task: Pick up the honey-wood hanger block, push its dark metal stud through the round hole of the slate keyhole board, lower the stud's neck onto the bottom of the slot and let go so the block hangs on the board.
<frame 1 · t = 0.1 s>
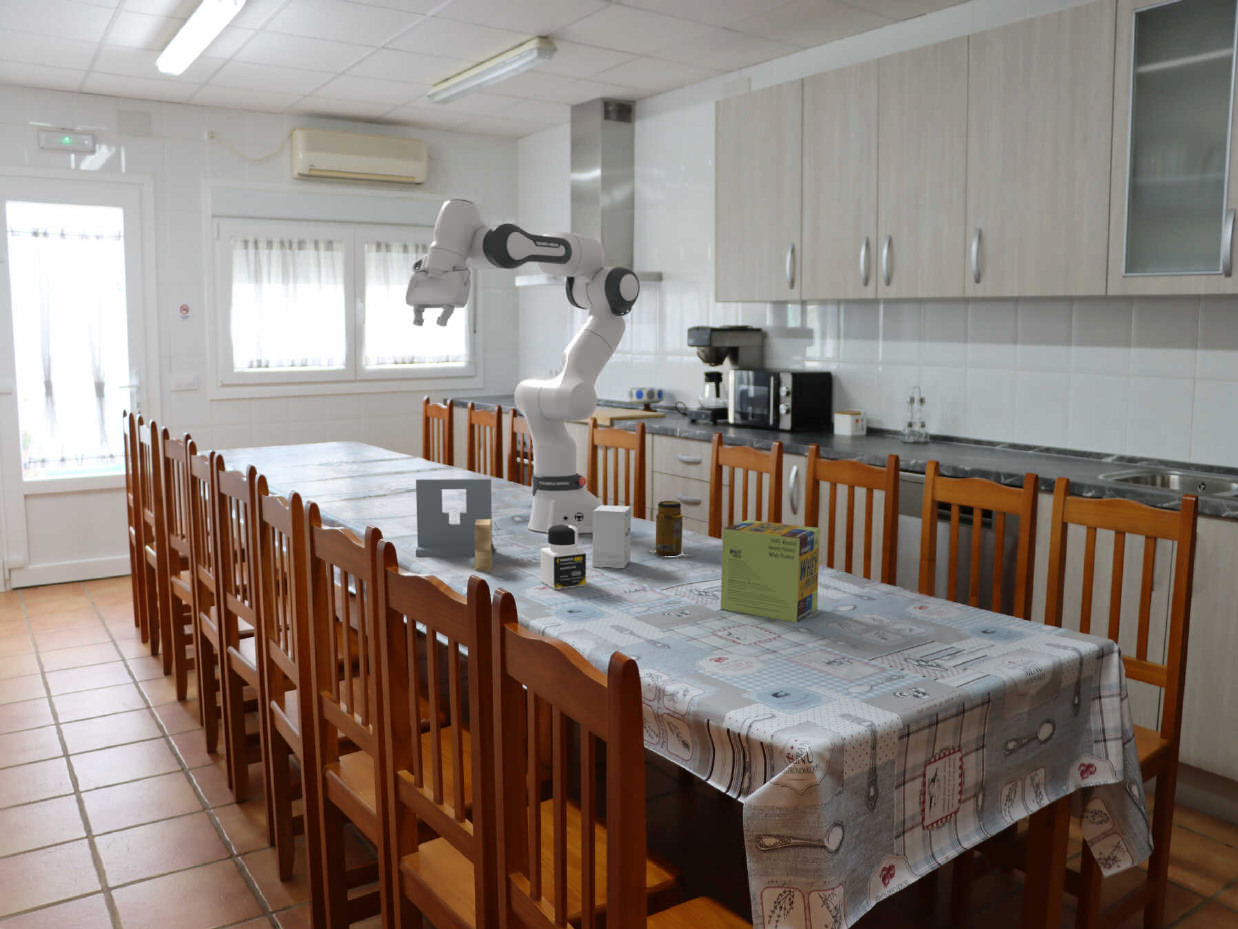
hand: (429, 325, 220), 52 cm above the table, tool tilted 20°, fingers open, 8 cm apart
hanger block: (483, 567, 212), on the table
supplement box: (611, 565, 215), on the table
medicine bottle: (563, 585, 198), on the table
condiment: (669, 555, 225), on the table
slate keyhole board: (455, 551, 226), on the table
protein box: (769, 610, 181), on the table
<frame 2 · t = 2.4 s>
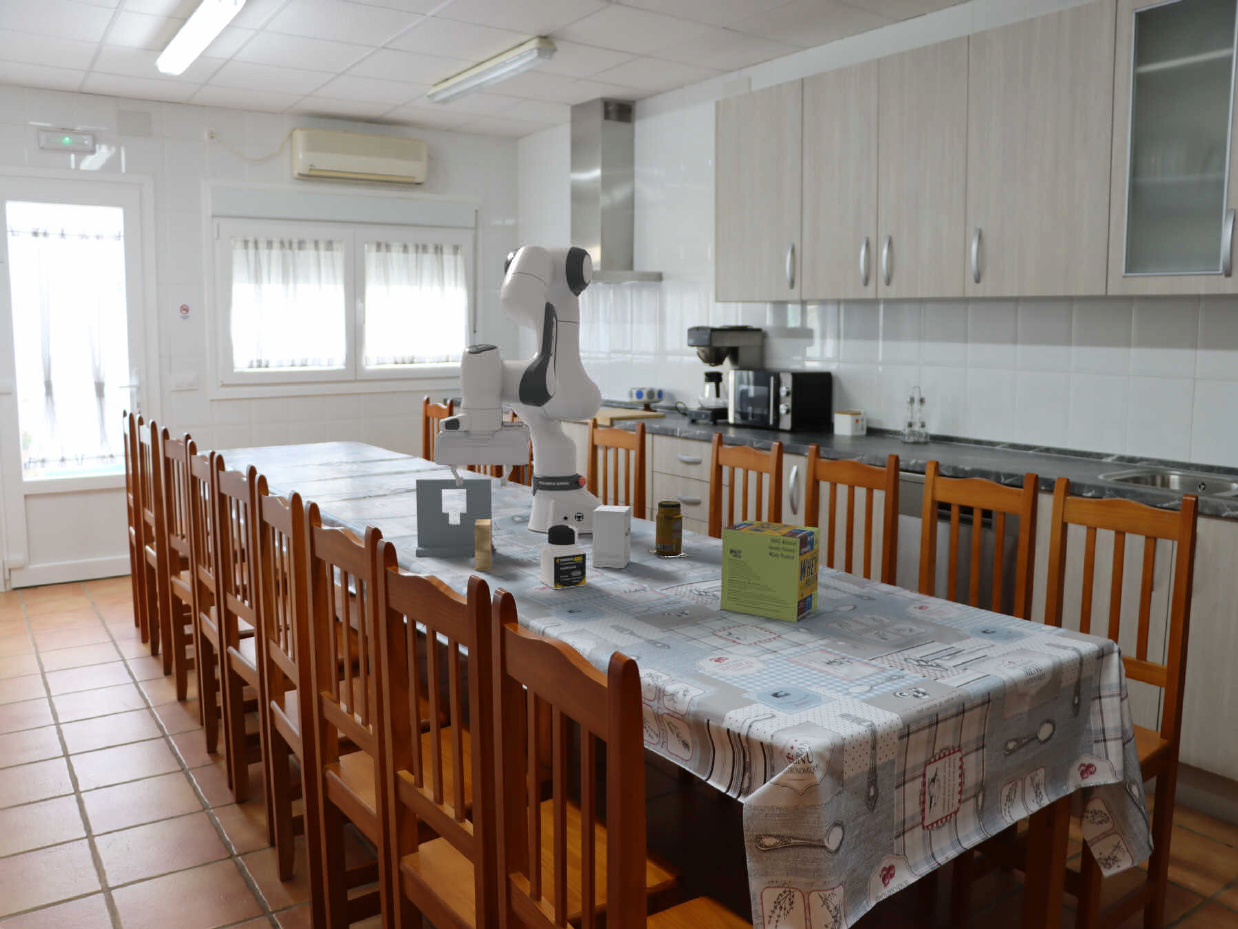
hand: (481, 485, 209), 18 cm above the table, tool pointing down, fingers open, 8 cm apart
nothing on the table moved.
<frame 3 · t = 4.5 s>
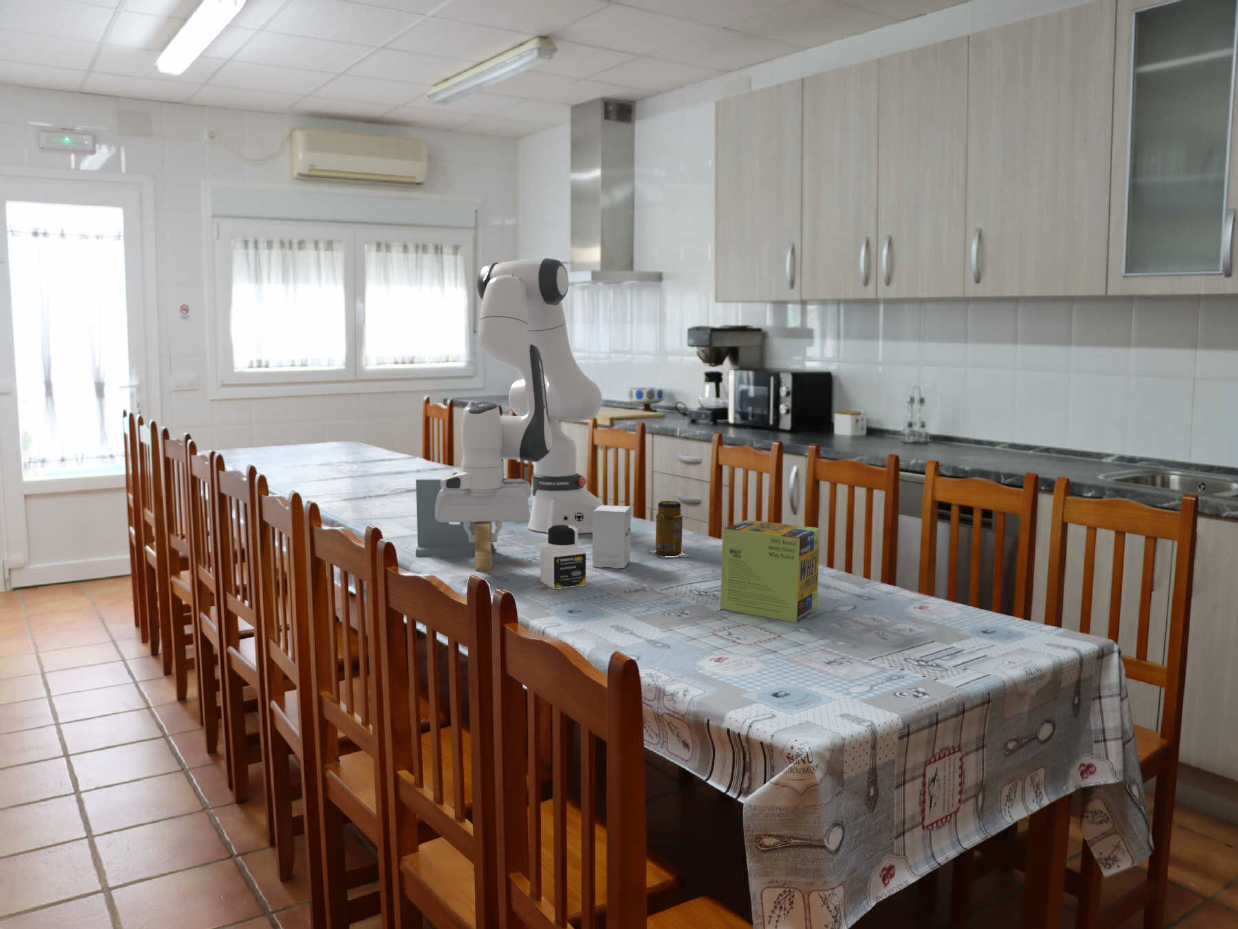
hand: (483, 541, 211), 6 cm above the table, tool pointing down, fingers closed on hanger block, 3 cm apart
hanger block: (483, 567, 212), on the table, touching gripper
everything else where it was.
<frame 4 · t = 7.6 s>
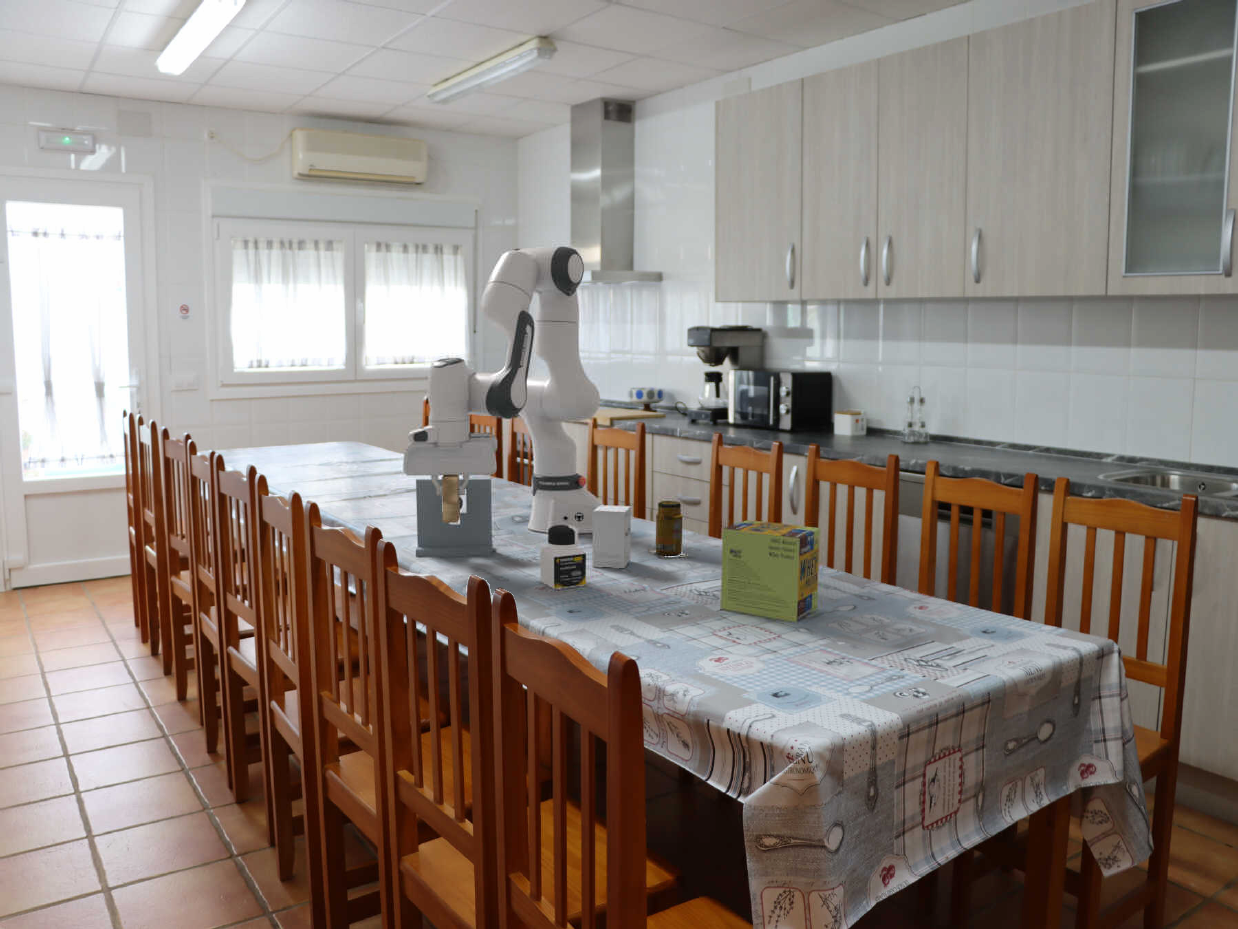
hand: (451, 494, 215), 15 cm above the table, tool pointing down, fingers closed on hanger block, 3 cm apart
hanger block: (451, 519, 216), point 9 cm above the table, touching gripper
everything else where it was.
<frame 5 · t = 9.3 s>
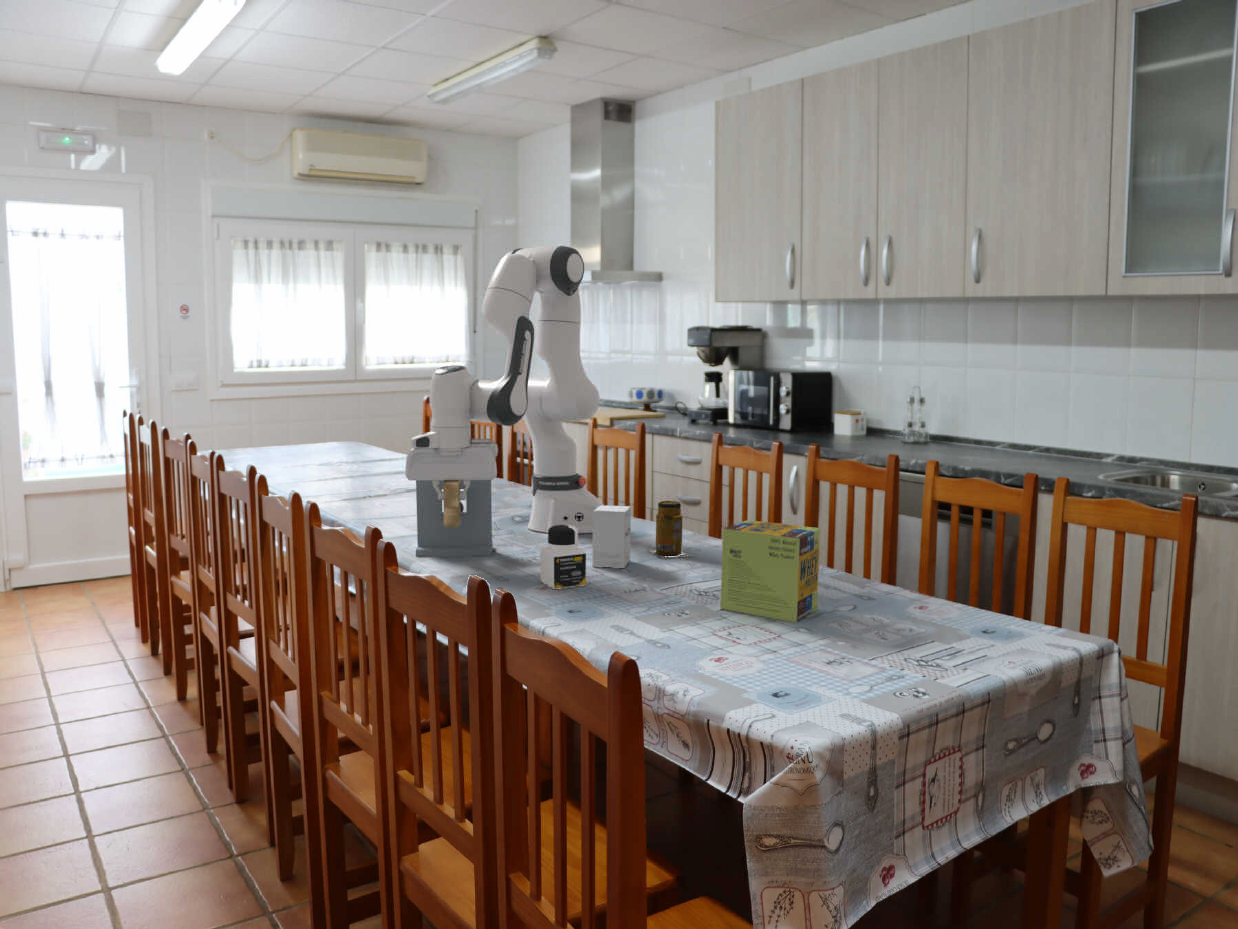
hand: (452, 499, 220), 13 cm above the table, tool pointing down, fingers closed on hanger block, 3 cm apart
hanger block: (452, 524, 220), point 7 cm above the table, touching gripper
everything else where it was.
when the fingers open (11 cm above the table, at t = 10.6 s): hanger block drops 2 cm, resting on slate keyhole board.
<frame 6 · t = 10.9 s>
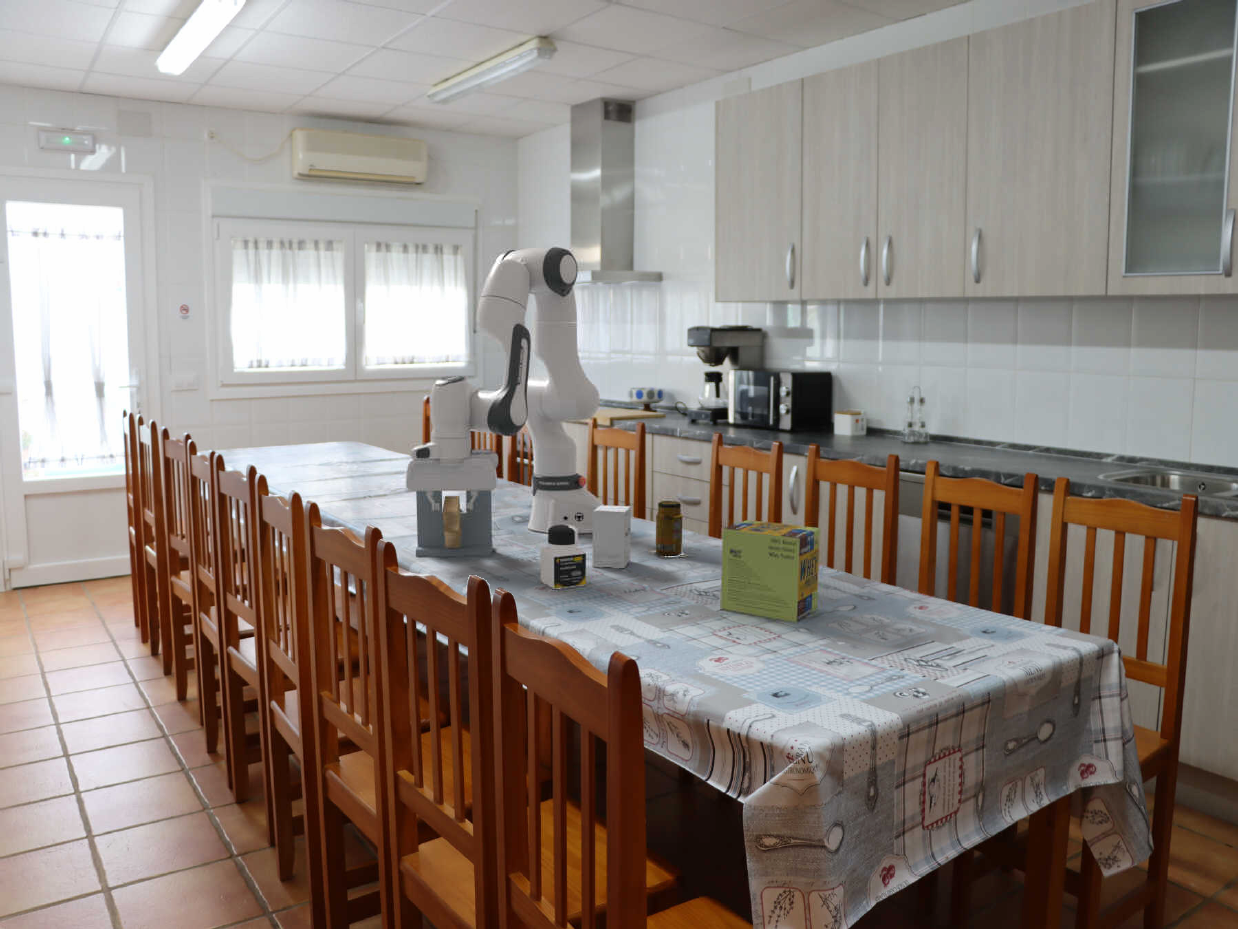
hand: (452, 510, 220), 11 cm above the table, tool pointing down, fingers open, 6 cm apart
hanger block: (453, 540, 222), point 3 cm above the table, tilted 22°, touching slate keyhole board
everything else where it was.
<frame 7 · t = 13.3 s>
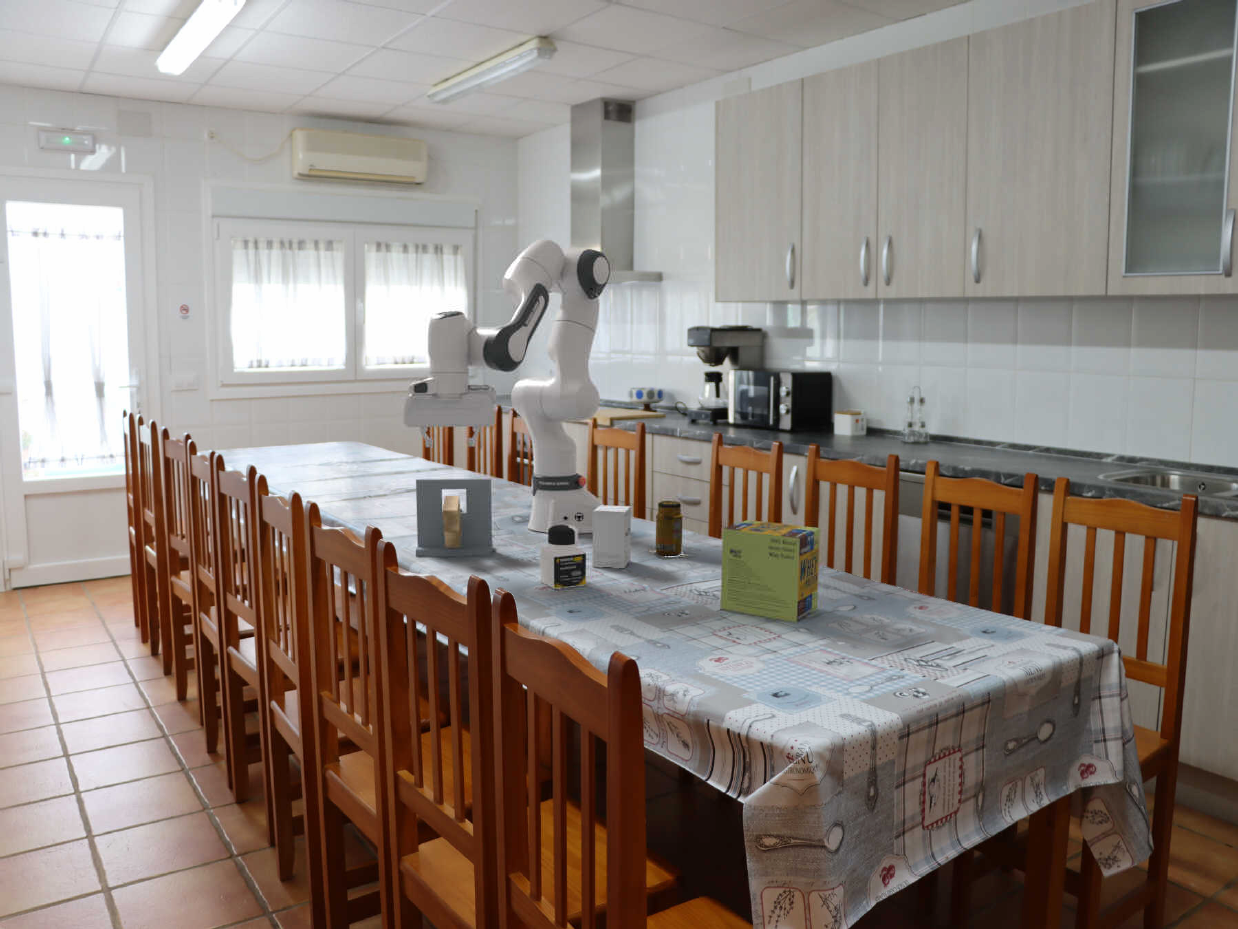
hand: (450, 446, 219), 25 cm above the table, tool pointing down, fingers open, 8 cm apart
nothing on the table moved.
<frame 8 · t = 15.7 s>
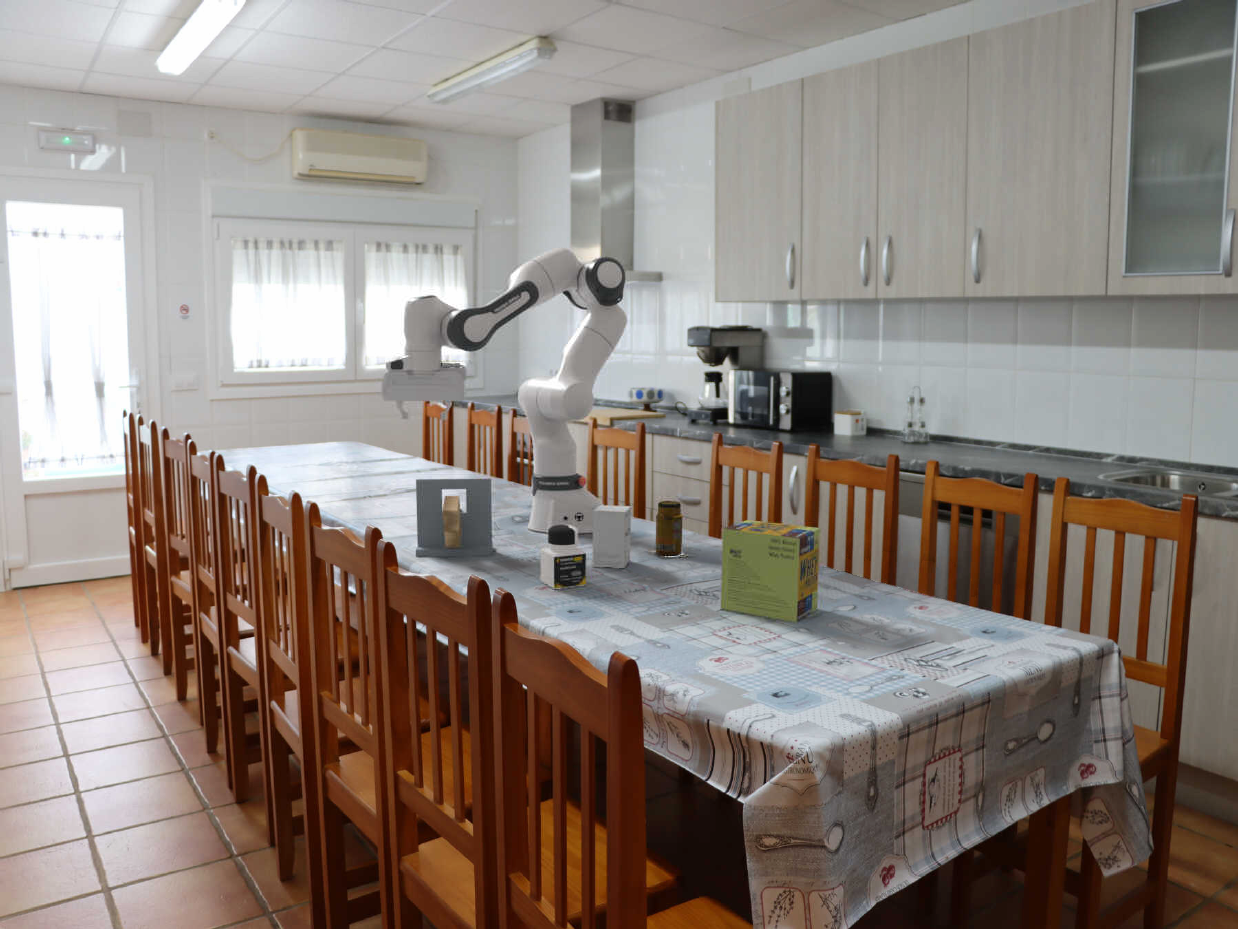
hand: (424, 419, 239), 29 cm above the table, tool pointing down, fingers open, 8 cm apart
nothing on the table moved.
at the end: hanger block 1.9 cm from the target spot, point 3.5 cm above the table; hanger block touching slate keyhole board; the gripper is holding nothing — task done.
